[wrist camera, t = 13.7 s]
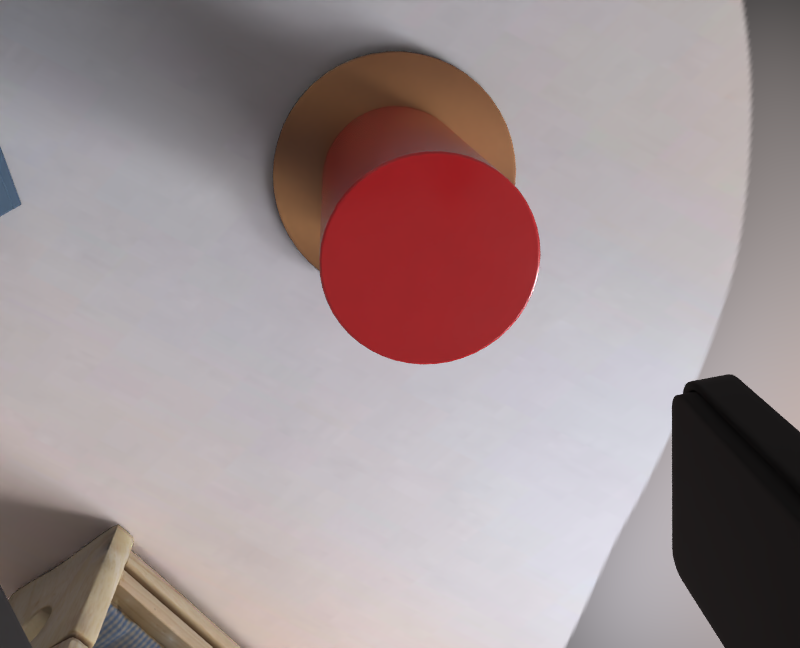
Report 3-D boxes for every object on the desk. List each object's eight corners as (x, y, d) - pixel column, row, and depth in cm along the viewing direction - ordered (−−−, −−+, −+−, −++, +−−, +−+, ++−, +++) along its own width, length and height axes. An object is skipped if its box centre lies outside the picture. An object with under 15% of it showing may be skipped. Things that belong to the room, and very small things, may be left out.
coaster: (292, 25, 27) (291, 26, 27) (541, 80, 29) (544, 80, 28) (258, 273, 31) (257, 276, 30) (481, 308, 32) (483, 311, 32)
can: (335, 91, 28) (339, 130, 18) (483, 121, 29) (568, 174, 19) (311, 239, 30) (303, 349, 20) (449, 262, 31) (509, 378, 21)
